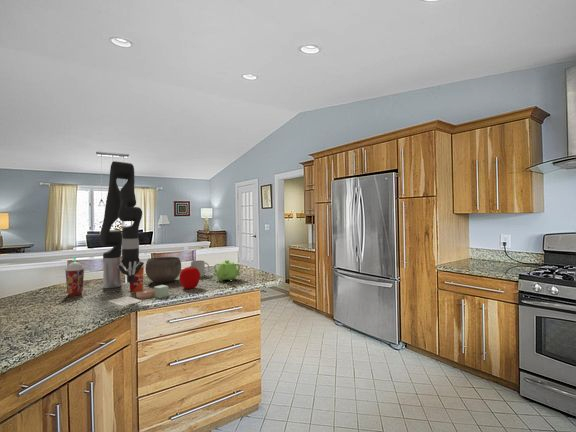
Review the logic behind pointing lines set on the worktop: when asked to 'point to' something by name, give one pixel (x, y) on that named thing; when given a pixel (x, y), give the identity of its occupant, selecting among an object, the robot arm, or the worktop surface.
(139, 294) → the peach domed disc
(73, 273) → the smoothie
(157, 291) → the cube
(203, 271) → the mug
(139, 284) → the coffee cup
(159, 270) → the bowl
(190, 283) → the tomato
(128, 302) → the mat
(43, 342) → the worktop surface
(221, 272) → the teapot
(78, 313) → the worktop surface
